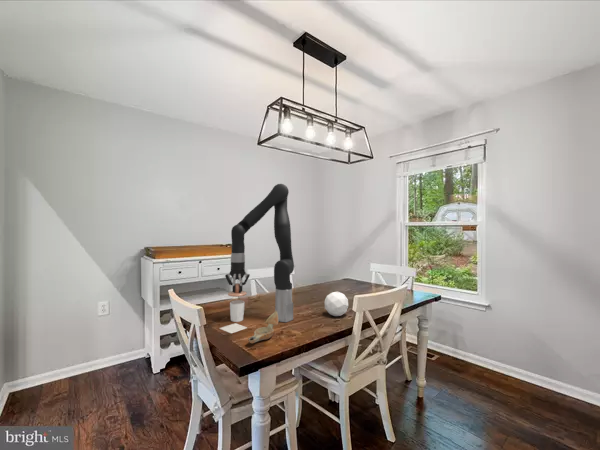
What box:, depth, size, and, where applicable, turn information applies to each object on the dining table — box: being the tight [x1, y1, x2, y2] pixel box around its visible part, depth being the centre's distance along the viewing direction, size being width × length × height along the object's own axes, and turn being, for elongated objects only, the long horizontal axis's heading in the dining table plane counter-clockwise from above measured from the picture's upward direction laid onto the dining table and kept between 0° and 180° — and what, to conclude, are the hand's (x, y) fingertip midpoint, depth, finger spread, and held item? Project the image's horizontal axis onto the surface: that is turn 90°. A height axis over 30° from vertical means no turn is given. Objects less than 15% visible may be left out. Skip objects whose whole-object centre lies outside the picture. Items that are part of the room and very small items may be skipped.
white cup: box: [229, 299, 245, 323], centre depth 152 cm, size 8×8×10 cm
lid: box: [227, 282, 247, 298], centre depth 152 cm, size 10×10×6 cm
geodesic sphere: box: [323, 291, 349, 317], centre depth 163 cm, size 15×14×14 cm
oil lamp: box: [247, 310, 279, 344], centre depth 128 cm, size 9×21×10 cm, turn 152°
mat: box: [218, 322, 248, 334], centre depth 139 cm, size 10×10×1 cm
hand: (237, 292), depth 152 cm, fingers closed on lid, 2 cm apart
